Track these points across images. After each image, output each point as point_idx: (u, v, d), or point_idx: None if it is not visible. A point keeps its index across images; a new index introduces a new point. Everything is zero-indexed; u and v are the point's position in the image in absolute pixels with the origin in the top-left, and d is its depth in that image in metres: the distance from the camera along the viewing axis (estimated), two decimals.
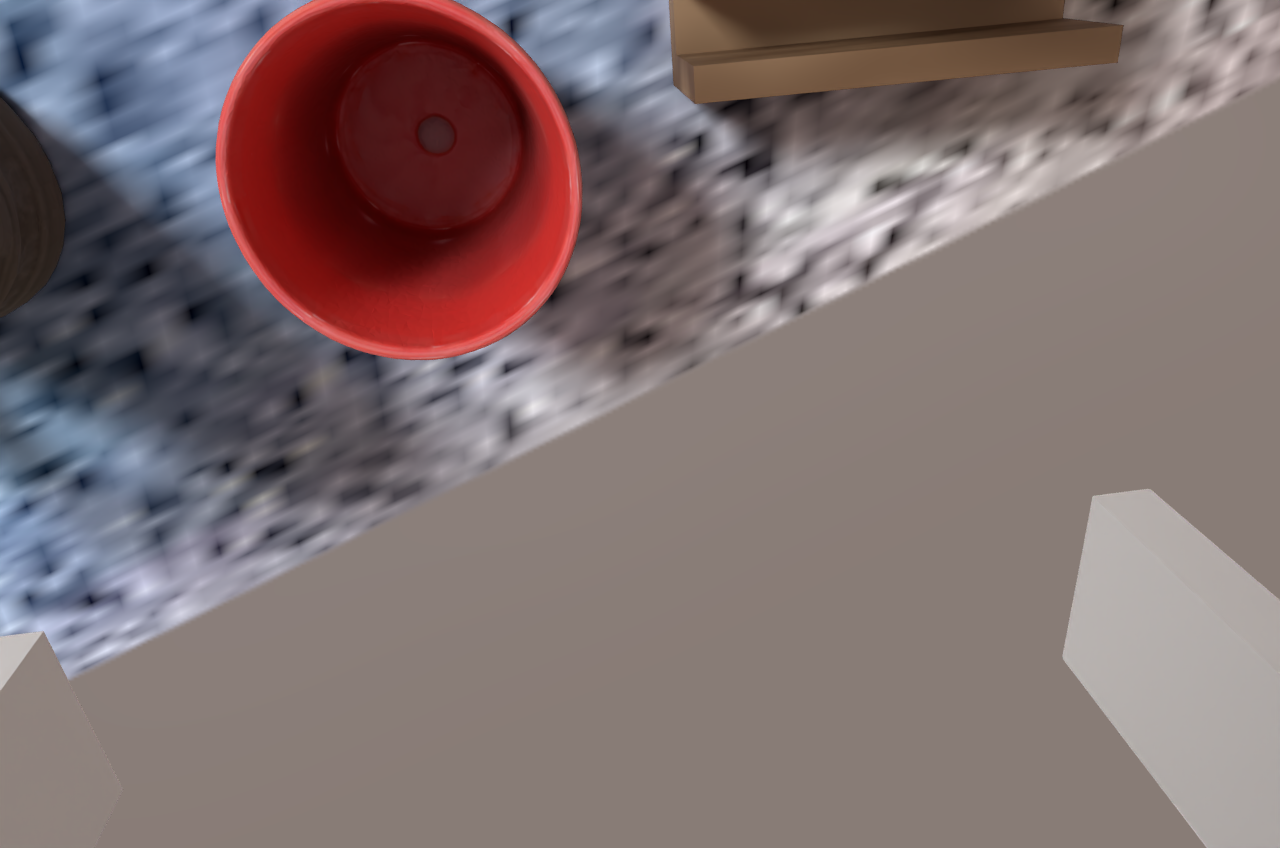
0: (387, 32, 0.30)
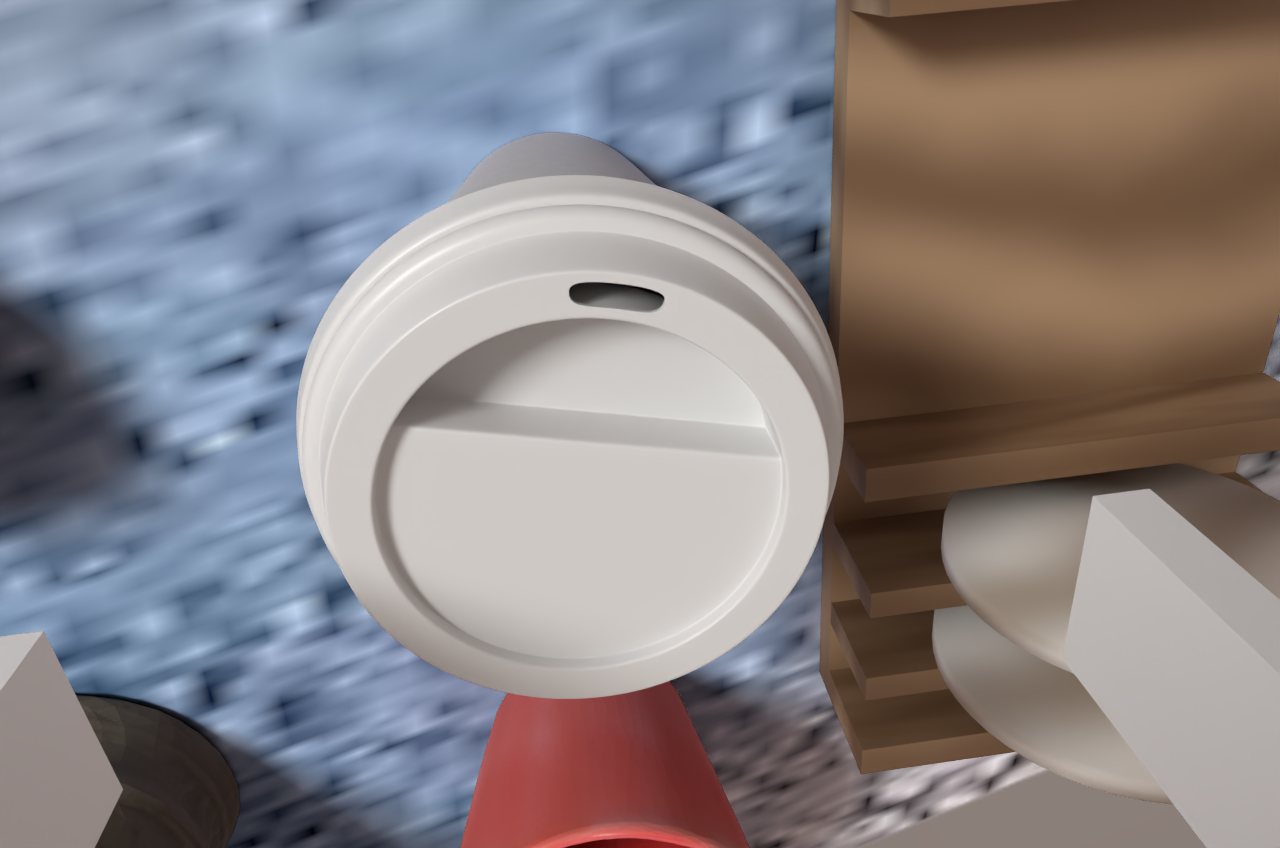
0: None
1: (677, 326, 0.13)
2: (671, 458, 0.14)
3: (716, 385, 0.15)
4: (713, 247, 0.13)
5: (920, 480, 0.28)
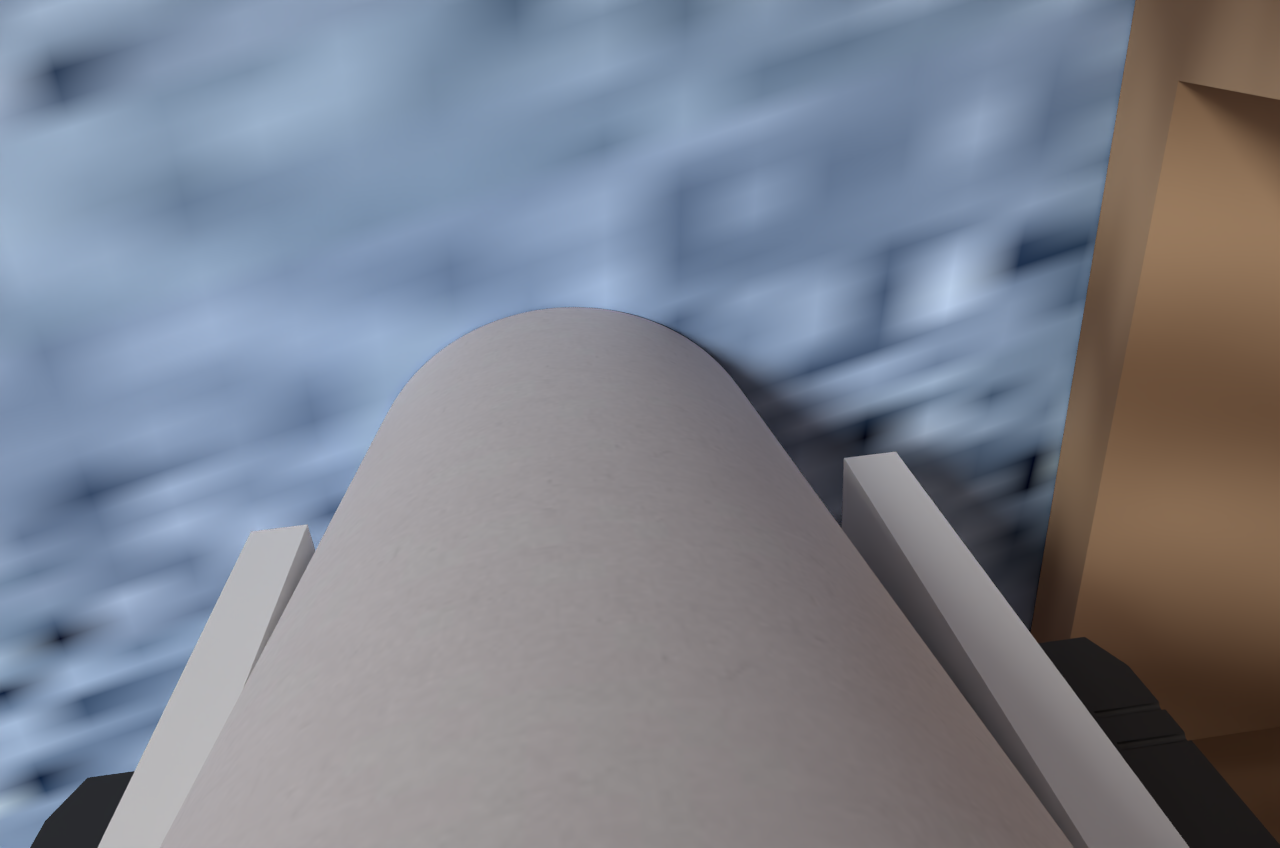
0: None
1: None
2: None
3: None
4: None
5: None
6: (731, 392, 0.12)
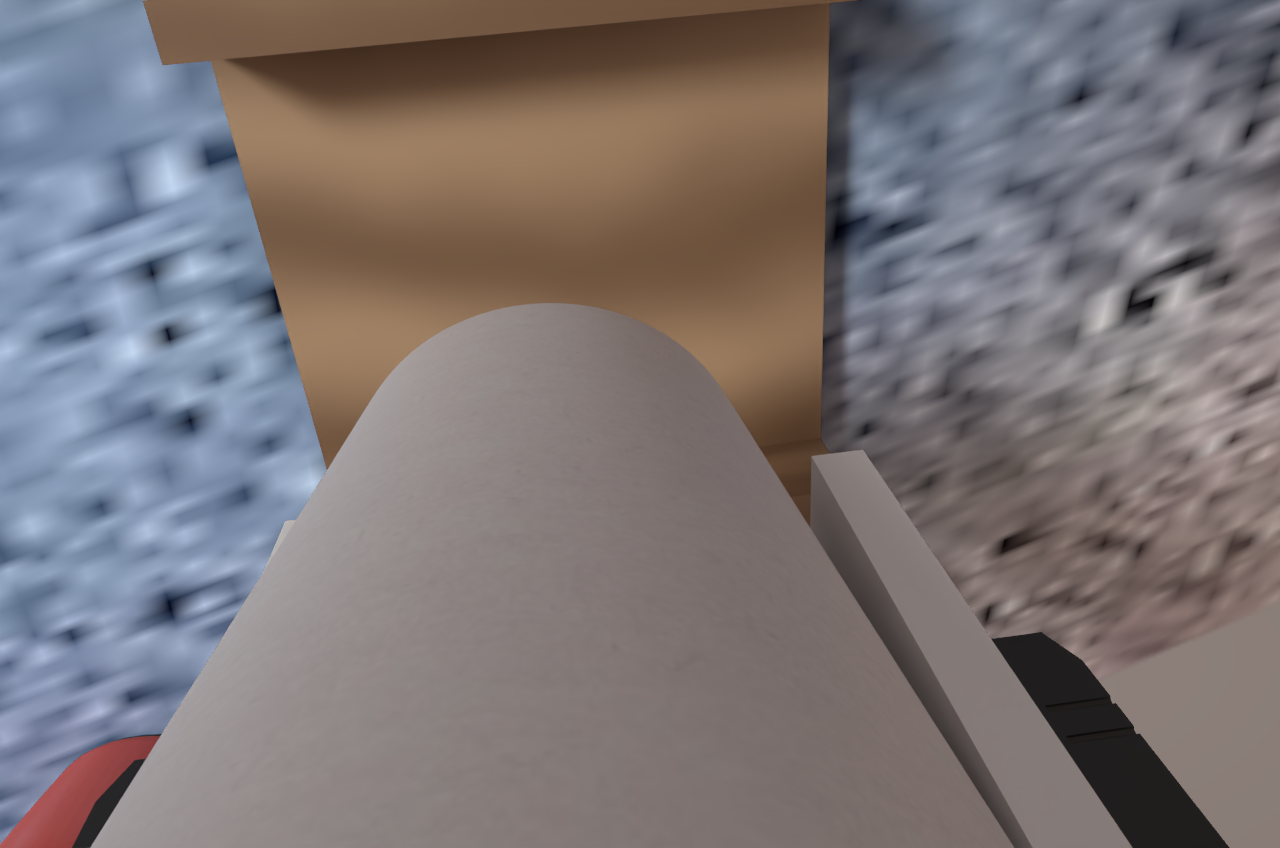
0: None
1: None
2: None
3: None
4: None
5: None
6: (712, 393, 0.12)
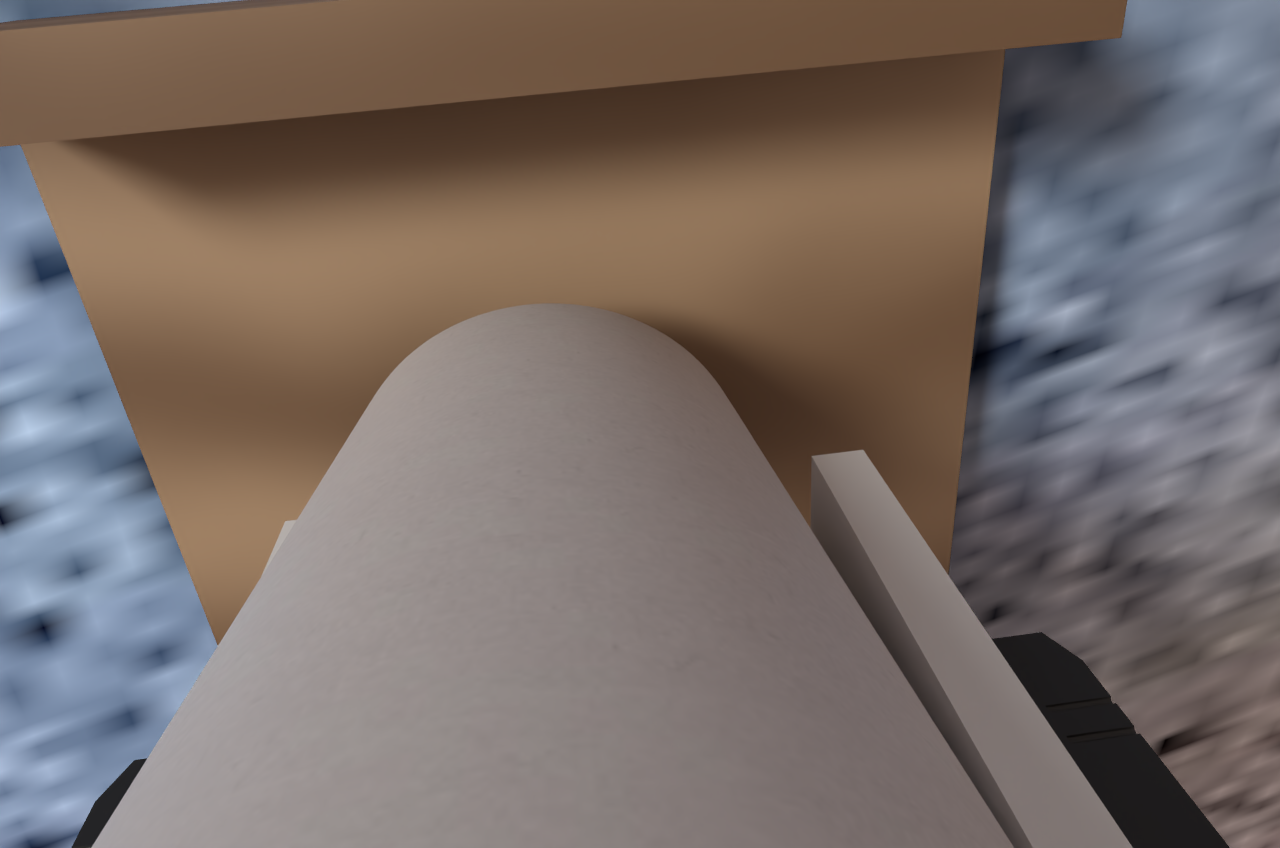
0: None
1: None
2: None
3: None
4: None
5: None
6: (712, 394, 0.12)
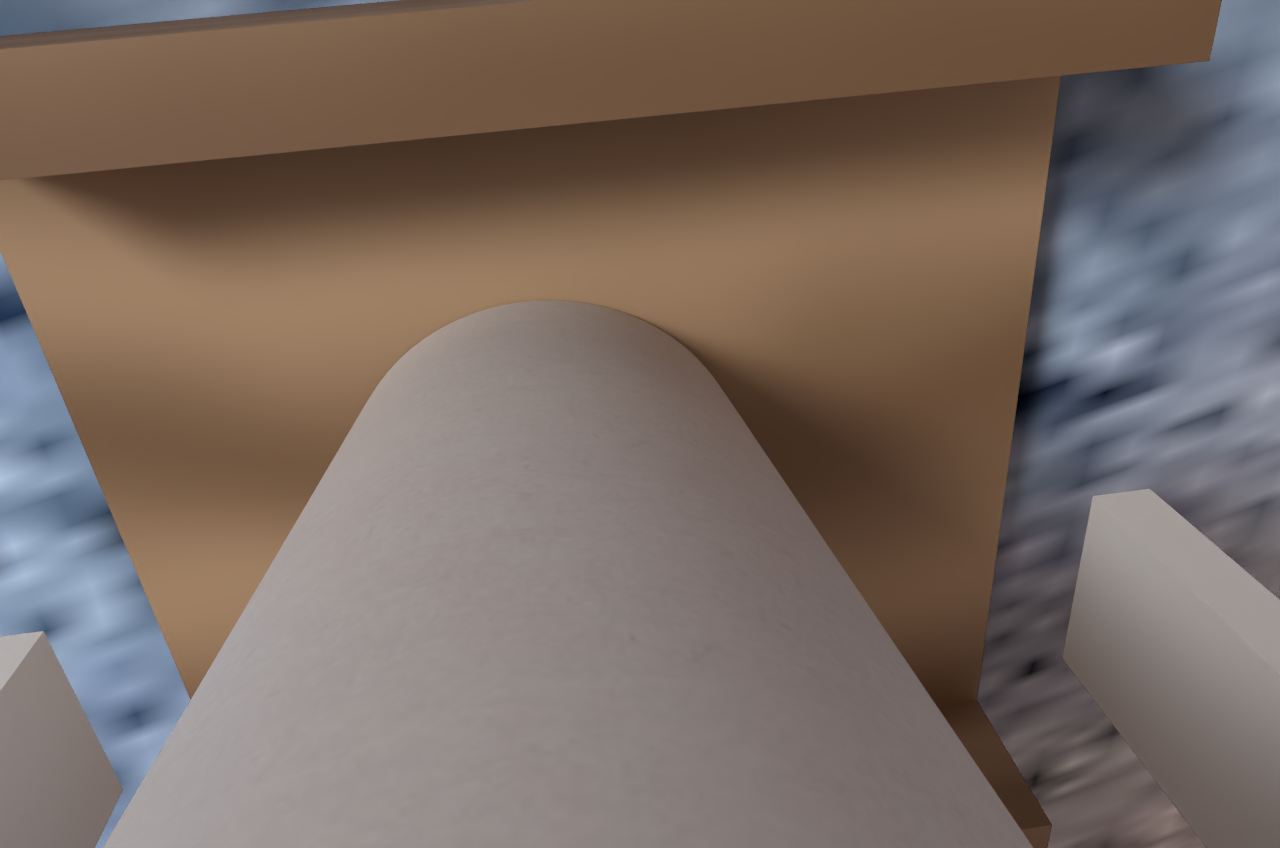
0: None
1: None
2: None
3: None
4: None
5: None
6: (711, 389, 0.12)
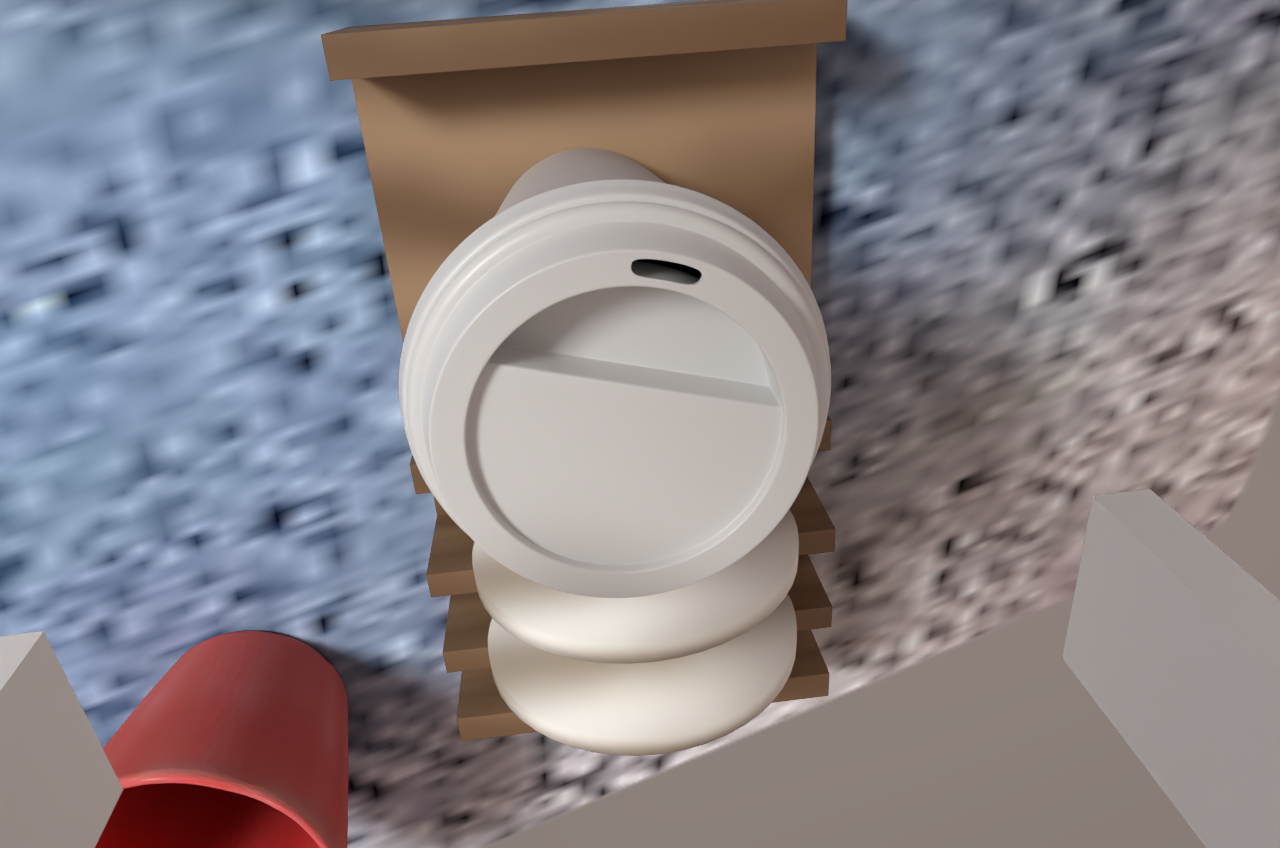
0: None
1: (710, 297, 0.17)
2: (697, 402, 0.18)
3: (733, 351, 0.19)
4: (738, 240, 0.18)
5: None
6: None
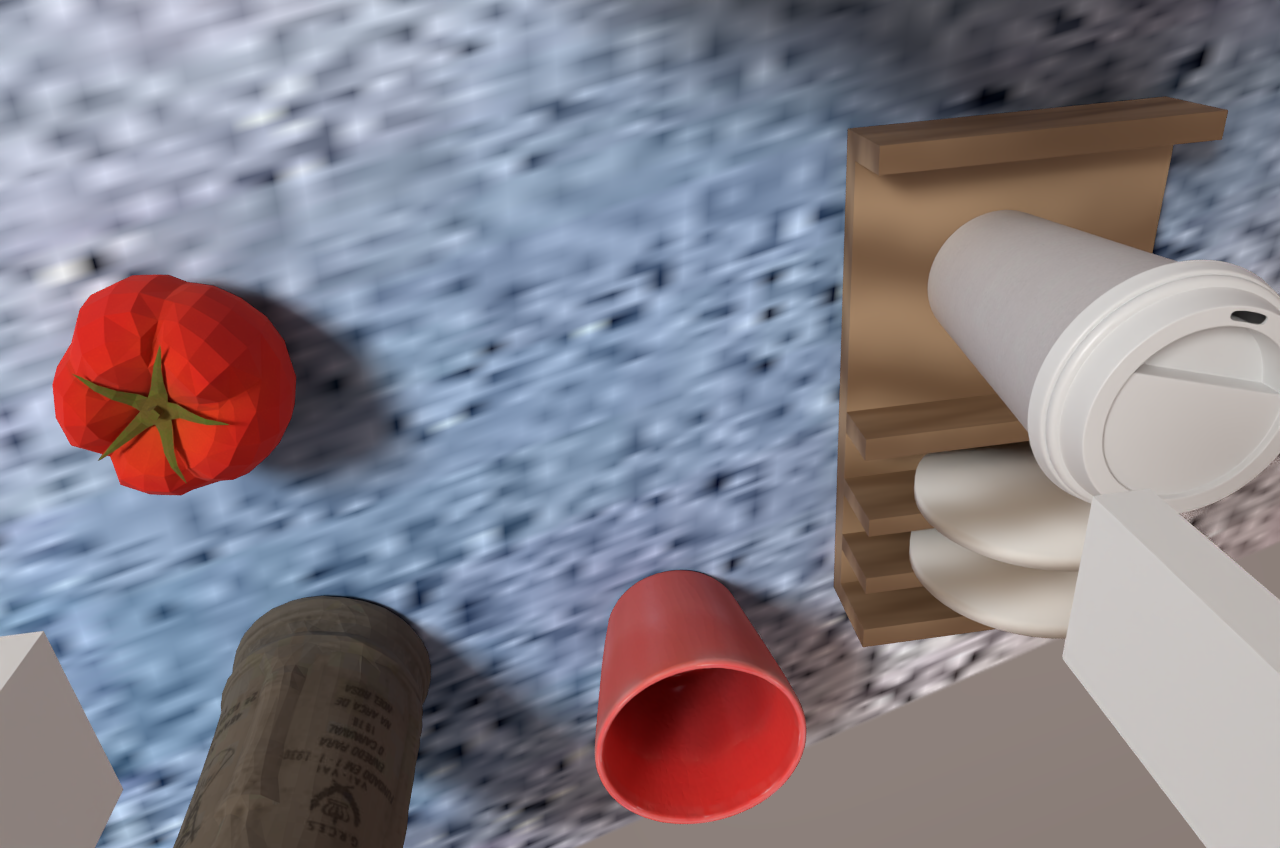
0: None
1: (1268, 331, 0.29)
2: (1237, 393, 0.30)
3: (1244, 361, 0.31)
4: (1272, 296, 0.29)
5: (900, 447, 0.44)
6: None
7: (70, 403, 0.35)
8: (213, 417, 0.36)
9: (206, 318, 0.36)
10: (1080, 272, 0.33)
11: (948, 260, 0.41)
